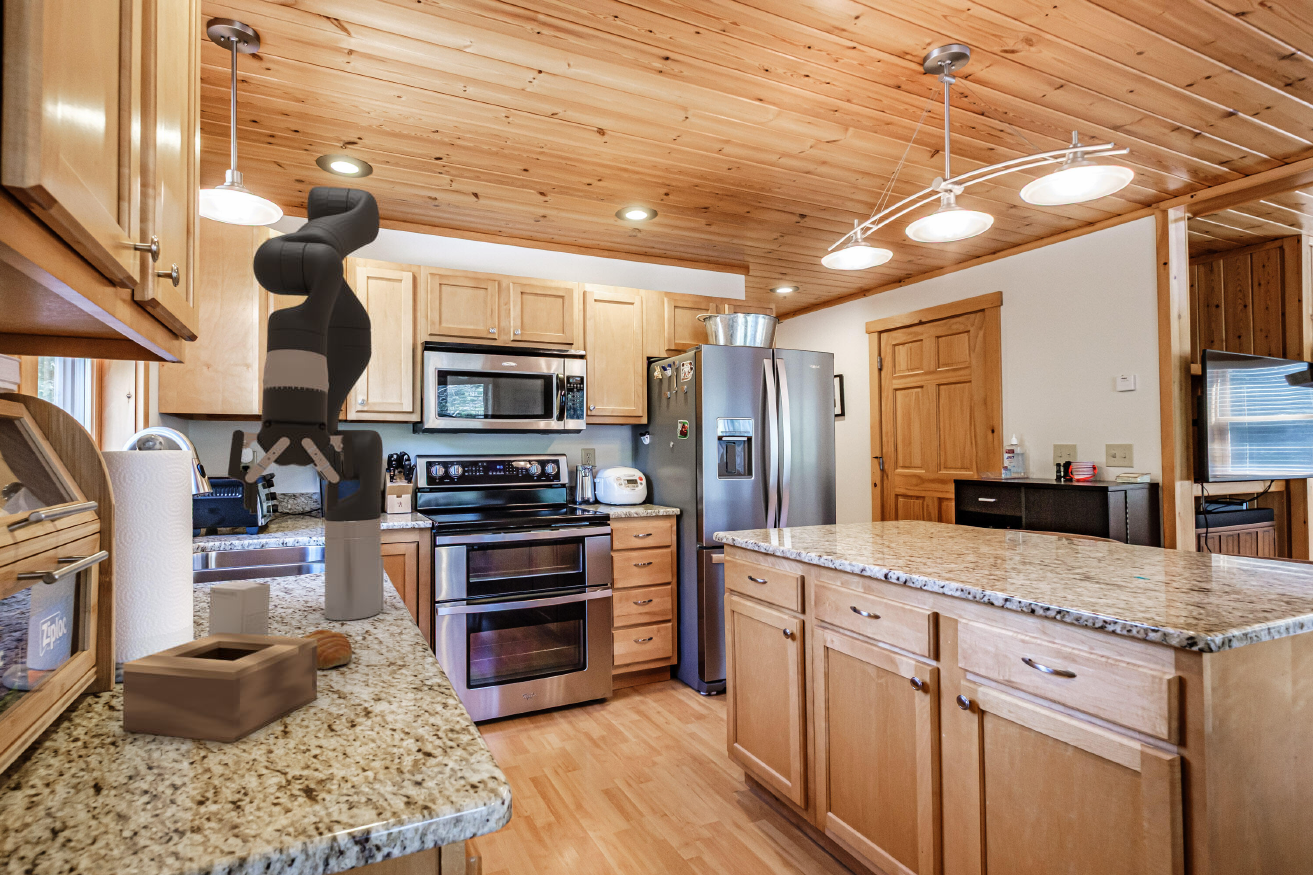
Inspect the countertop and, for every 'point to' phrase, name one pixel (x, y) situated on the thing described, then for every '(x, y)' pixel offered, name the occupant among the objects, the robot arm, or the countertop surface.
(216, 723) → the slot box
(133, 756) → the countertop surface
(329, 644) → the pastry
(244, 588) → the skincare box
